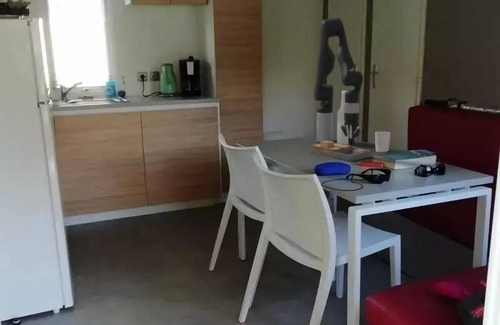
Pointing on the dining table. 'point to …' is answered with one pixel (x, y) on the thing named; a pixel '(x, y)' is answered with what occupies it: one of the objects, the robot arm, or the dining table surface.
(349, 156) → the box
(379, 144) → the white cup
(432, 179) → the dining table surface
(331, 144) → the tile
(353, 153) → the tile
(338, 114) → the alcohol
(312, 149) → the oak plate
